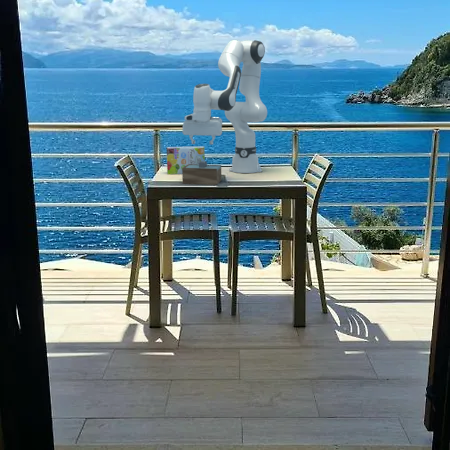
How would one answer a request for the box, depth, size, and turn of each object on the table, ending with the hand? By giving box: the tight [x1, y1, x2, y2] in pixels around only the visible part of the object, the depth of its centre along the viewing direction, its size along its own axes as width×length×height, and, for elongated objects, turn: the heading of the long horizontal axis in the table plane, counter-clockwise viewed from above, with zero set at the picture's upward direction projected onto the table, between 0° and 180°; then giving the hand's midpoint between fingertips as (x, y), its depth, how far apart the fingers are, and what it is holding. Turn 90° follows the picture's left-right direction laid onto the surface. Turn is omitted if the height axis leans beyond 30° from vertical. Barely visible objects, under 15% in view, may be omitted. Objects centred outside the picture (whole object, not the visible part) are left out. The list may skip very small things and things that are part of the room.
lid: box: [186, 161, 222, 170], centre depth 302 cm, size 10×17×4 cm, turn 79°
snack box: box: [166, 145, 206, 175], centre depth 328 cm, size 21×6×15 cm, turn 92°
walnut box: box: [181, 164, 222, 186], centre depth 303 cm, size 12×18×8 cm, turn 79°
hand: (202, 144), depth 299 cm, fingers open, 8 cm apart
